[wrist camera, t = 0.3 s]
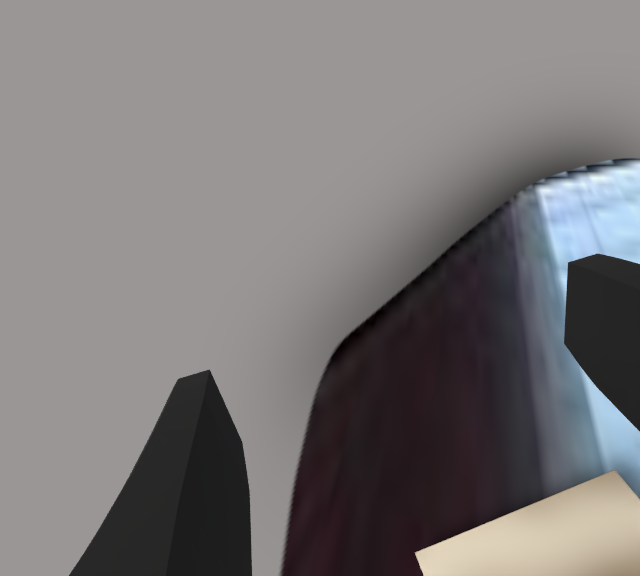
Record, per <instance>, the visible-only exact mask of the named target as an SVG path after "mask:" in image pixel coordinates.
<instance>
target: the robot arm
mask: <svg viewBox="0 0 640 576" xmlns="http://www.w3.org/2000/svg"><path fill="white" fill-rule="evenodd" d="M564 344H565V345H566V347H567V348H568V349H569V351H570V352H571V354H572V355H573V356H574V358H575V359H576V361H577V362H578V363H579V365H580V366H581V368H582V369H583V370H584V371H585V373H586V374H587V375H588V377H589V378H590V379H591V381H592V382H593V383H594V384H595V385H596V387H597V388H598V389H599V390H600V391H601V392H602V393H603V394H604V395H605V396H606V397H607V398H608V399H609V400H610V401H611V402H612V403H613V404H614V405H615V407H616V408H617V409H618V410H619V411H620V412H621V413H622V414H623V415H624V416H625V417H626V418H627V419H628V420H629V421H630V422H631V423H632V424H633V425H634V426H635V427H636V428H637V429H638V430H639V431H640V264H637V263H634V262H630V261H626V260H623V259H619V258H615V257H611V256H606V255H601V254H595V255H592V256H588V257H585V258H582V259H578V260H575V261H571V262H568V277H567V297H566V317H565V337H564ZM249 496H250V494H249V485H248V478H247V470H246V464H245V457H244V451H243V444H242V441H241V438H240V436H239V434H238V432H237V429H236V427H235V425H234V423H233V421H232V418H231V416H230V414H229V412H228V409H227V407H226V405H225V403H224V400H223V398H222V396H221V394H220V392H219V390H218V387H217V385H216V383H215V381H214V378H213V376H212V374H211V372H210V370H207V371H203V372H200V373H197V374H193V375H190V376H187V377H183V378H180V379H178V380H177V382H176V384H175V386H174V388H173V390H172V392H171V394H170V396H169V398H168V400H167V402H166V404H165V406H164V408H163V411H162V413H161V415H160V417H159V419H158V421H157V423H156V425H155V427H154V429H153V431H152V433H151V435H150V437H149V439H148V441H147V443H146V445H145V447H144V449H143V451H142V453H141V455H140V457H139V459H138V461H137V462H136V464H135V466H134V468H133V470H132V472H131V474H130V476H129V478H128V480H127V481H126V483H125V485H124V487H123V489H122V490H121V492H120V494H119V495H118V497H117V499H116V501H115V502H114V504H113V506H112V507H111V509H110V511H109V513H108V514H107V516H106V518H105V520H104V521H103V523H102V525H101V527H100V528H99V530H98V532H97V533H96V535H95V537H94V538H93V540H92V541H91V543H90V544H89V546H88V547H87V549H86V551H85V552H84V554H83V555H82V557H81V558H80V560H79V562H78V563H77V564H76V566H75V567H74V569H73V570H72V572H71V573H70V575H69V576H252V560H251V523H250V497H249Z"/></svg>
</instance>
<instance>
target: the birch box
mask: <svg viewBox="0 0 640 576" xmlns="http://www.w3.org/2000/svg"><path fill="white" fill-rule="evenodd" d="M415 554H416V557H417V559H418V562H419V564H420V567H421V569H422V572H423V575H424V576H640V499H639V498H638V497H637V495H636V494H635V493H634V492H633V491H632V490H631V488H630V487H629V486H628V485H627V484H626V482H625V481H624V480H623V479H622V478H621V477H620V475H619V474H618V473H617V472H616V471H615V470H614V471H611V472H609V473H606V474H604V475H601V476H599V477H597V478H594V479H592V480H589V481H587V482H585V483H582V484H580V485H577V486H575V487H573V488H570V489H568V490H565V491H563V492H560V493H558V494H556V495H553V496H551V497H548V498H546V499H544V500H541V501H539V502H536V503H534V504H532V505H529V506H527V507H524V508H522V509H520V510H517V511H515V512H512V513H510V514H507V515H505V516H503V517H500V518H498V519H495V520H493V521H491V522H488V523H486V524H483V525H481V526H479V527H476V528H474V529H471V530H469V531H467V532H464V533H462V534H459V535H457V536H454V537H452V538H450V539H447V540H445V541H442V542H440V543H438V544H435V545H433V546H430V547H428V548H426V549H423V550H421V551H418V552H416V553H415Z"/></svg>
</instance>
